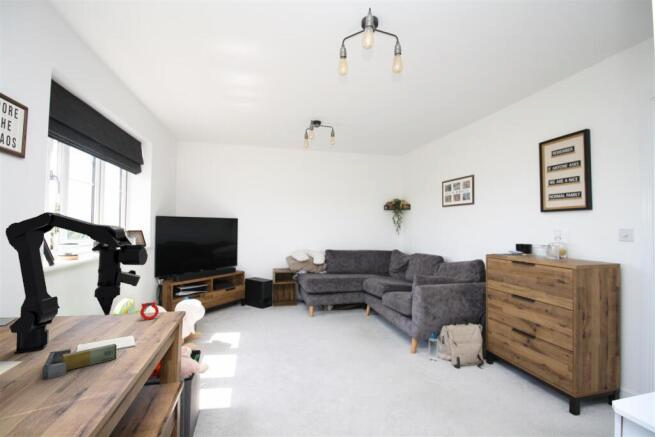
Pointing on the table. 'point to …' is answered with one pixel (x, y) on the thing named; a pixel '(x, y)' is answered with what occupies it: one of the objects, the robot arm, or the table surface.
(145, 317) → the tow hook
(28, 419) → the table surface
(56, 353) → the cradle stand
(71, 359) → the medication box
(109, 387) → the table surface
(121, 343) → the felt pad
